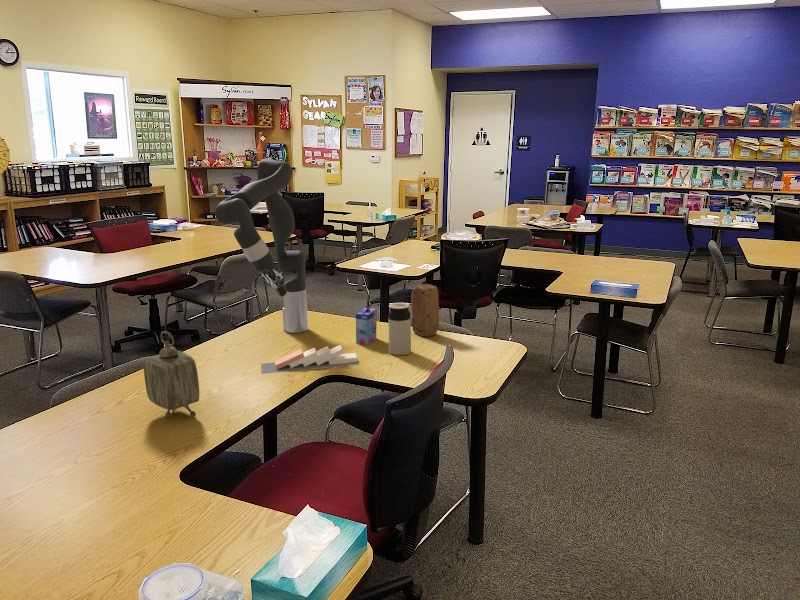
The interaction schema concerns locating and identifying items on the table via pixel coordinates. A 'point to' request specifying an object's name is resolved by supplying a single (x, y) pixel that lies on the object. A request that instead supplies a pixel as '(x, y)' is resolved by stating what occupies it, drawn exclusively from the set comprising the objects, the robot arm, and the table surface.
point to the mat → (299, 367)
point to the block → (425, 310)
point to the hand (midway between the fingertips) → (283, 294)
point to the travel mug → (399, 329)
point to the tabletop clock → (171, 378)
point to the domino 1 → (289, 359)
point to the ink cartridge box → (366, 325)
